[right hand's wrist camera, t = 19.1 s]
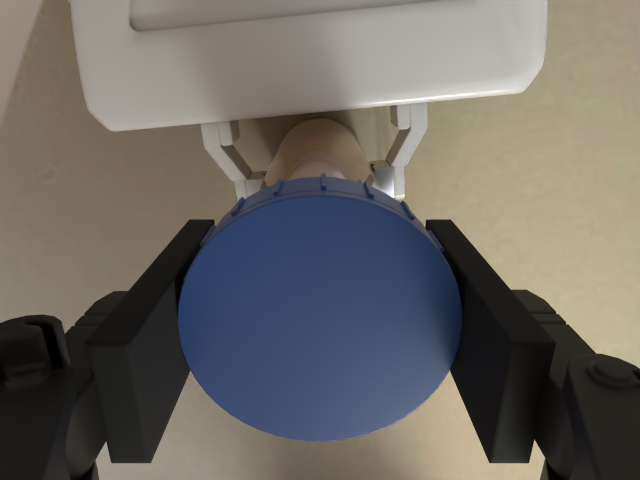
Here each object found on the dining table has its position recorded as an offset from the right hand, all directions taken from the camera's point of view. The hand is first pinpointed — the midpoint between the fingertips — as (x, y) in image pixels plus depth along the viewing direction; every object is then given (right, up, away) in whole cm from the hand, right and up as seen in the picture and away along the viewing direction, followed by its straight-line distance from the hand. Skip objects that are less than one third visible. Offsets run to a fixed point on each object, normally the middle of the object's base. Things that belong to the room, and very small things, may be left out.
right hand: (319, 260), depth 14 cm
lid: (0, -1, -3) cm, 4 cm away
